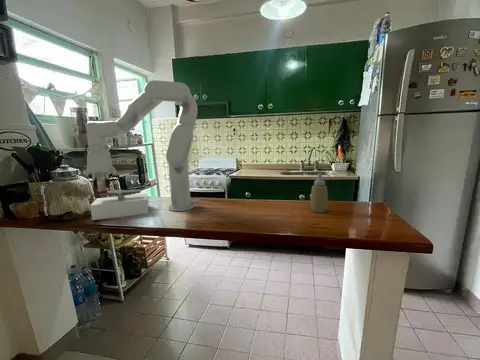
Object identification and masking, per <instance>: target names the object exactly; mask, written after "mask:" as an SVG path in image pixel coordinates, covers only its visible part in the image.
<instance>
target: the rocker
mask: <svg viewBox="0 0 480 360" xmlns="http://www.w3.org/2000/svg"><path fill="white" fill-rule="evenodd" d="M121 190H122V191H119V190H107V191H108V192H107V193H98V197H104V196H105V197H107V196H108V197H109V196H117V193H122V194H124V195H136V194H141V191H142V190H141V189H139V188H138V189H121Z"/></svg>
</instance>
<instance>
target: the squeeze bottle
mask: <svg viewBox="0 0 480 360" xmlns="http://www.w3.org/2000/svg"><path fill="white" fill-rule="evenodd" d="M322 176H323V175H322V172H318V174H317V177H316V180H314V182H313V185H312V186H311V190H310V191H311V193H310V202H309V205H310V208H311V210H312V212H313V213H319V214H320V213H322V214H323V213H326V211H327V209H328V205H329V197H328V186H327V185H326V181H325V180H324V179H323V177H322Z"/></svg>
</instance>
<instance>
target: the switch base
mask: <svg viewBox="0 0 480 360" xmlns="http://www.w3.org/2000/svg"><path fill="white" fill-rule="evenodd" d="M122 190H123V189H119V190H118V191H122ZM89 207H90V214H91V219H92V221H97V220H106V219H107V220H108V219H115V218H121V217H131V216H139V215H146V214H149V210H150V209H149V207H150V205H149V195H148V193H136V194H126V195H125V194H122V193H117V195H115V196H108V197H107V196H105V197H100V198H99V197H97V198H95V200H94V201H93V202H92V203H91V204H90V205H89Z"/></svg>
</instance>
